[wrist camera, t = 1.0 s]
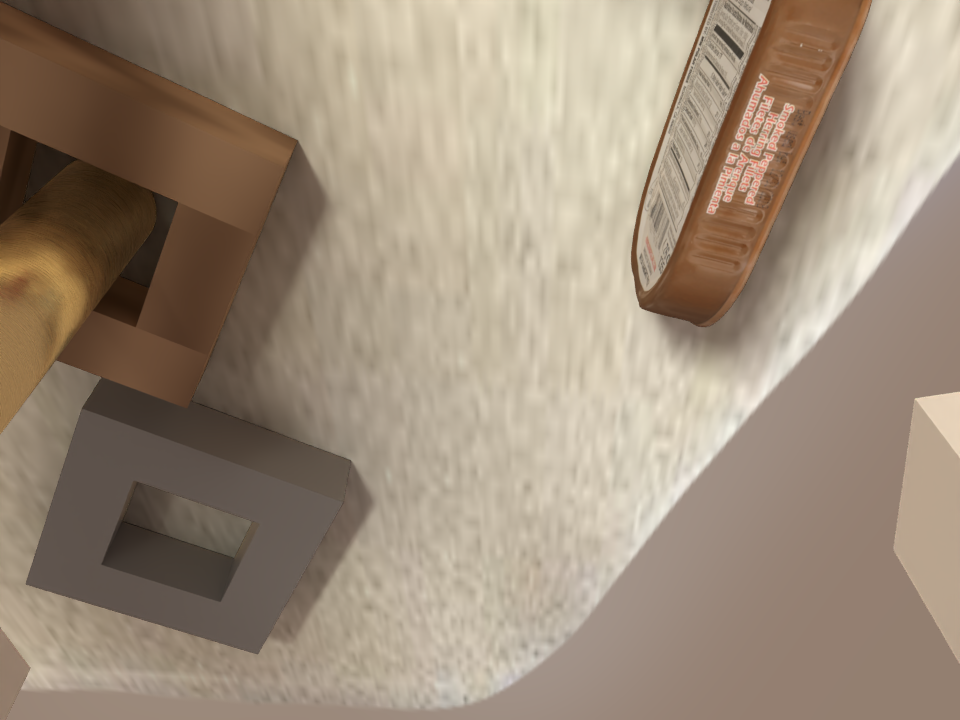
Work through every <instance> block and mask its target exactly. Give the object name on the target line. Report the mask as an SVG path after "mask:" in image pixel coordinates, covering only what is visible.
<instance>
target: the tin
mask: <svg viewBox="0 0 960 720" xmlns="http://www.w3.org/2000/svg"><path fill="white" fill-rule="evenodd" d="M871 3H872V0H710V2H709V5H708V7H707V10H706V13H705V15H704V18H703V21H702V23H701V26H700V29H699V31H698V34H697V37H696V40H695V42H694V45H693V48H692V50H691V53H690V56H689V58H688V61H687V64H686V67H685V69H684V72H683V75H682V78H681V80H680V83H679V86H678V89H677V92H676V95H675V97H674V100H673V103H672V106H671V109H670V112H669V115H668V117H667V120H666V123H665V126H664V129H663V132H662V135H661V138H660V140H659V143H658V146H657V149H656V152H655V155H654V158H653V161H652V163H651V166H650V170H649V173H648V177H647V180H646V183H645V187H644V190H643V194H642V198H641V202H640V206H639V210H638V214H637V218H636V224H635V229H634V235H633V243H632V251H631V266H632V271H633V275H634V281H635V290H636V295H637V298H638V301H639V306H640V307H641V308H642V309H644V310H647V311H650V312H654V313H657V314H661V315H665V316H669V317H674V318H678V319H682V320H686V321H690V322H691V323H693V324H694V325H696V326H699V327H707V326H711V325H713V324H714V323H715V322H717V321H718V320H720V318H721V317H723V316H724V314H725V313H726V312H727V311H728V310H729V309H730V307H731V306H732V305H733V303H734V302H735V301H736V299H737V298H738V296H739V294H740V293H741V292H742V290H743V288H744V286H745V284H746V283H747V280H748V279H749V277H750V275H751V273H752V271H753V269H754V266H755V264H756V262H757V260H758V258H759V255H760V253H761V251H762V249H763V247H764V245H765V242H766V240H767V238H768V236H769V233H770V231H771V229H772V227H773V224H774V222H775V220H776V218H777V216H778V214H779V212H780V210H781V207H782V205H783V203H784V201H785V198H786V196H787V194H788V191H789V190H790V188H791V185H792V183H793V180H794V178H795V176H796V174H797V172H798V170H799V167H800V165H801V163H802V161H803V159H804V157H805V154H806V152H807V150H808V148H809V146H810V144H811V142H812V139H813V137H814V135H815V132H816V130H817V128H818V126H819V124H820V122H821V120H822V118H823V116H824V114H825V112H826V109H827V107H828V104H829V102H830V100H831V98H832V95H833V93H834V91H835V89H836V87H837V85H838V83H839V81H840V79H841V76H842V74H843V72H844V70H845V68H846V66H847V64H848V62H849V59H850V57H851V55H852V52H853V50H854V48H855V46H856V43H857V41H858V39H859V36H860V34H861V32H862V29H863V26H864V24H865V21H866V19H867V16H868V12H869V9H870V6H871Z"/></svg>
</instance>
